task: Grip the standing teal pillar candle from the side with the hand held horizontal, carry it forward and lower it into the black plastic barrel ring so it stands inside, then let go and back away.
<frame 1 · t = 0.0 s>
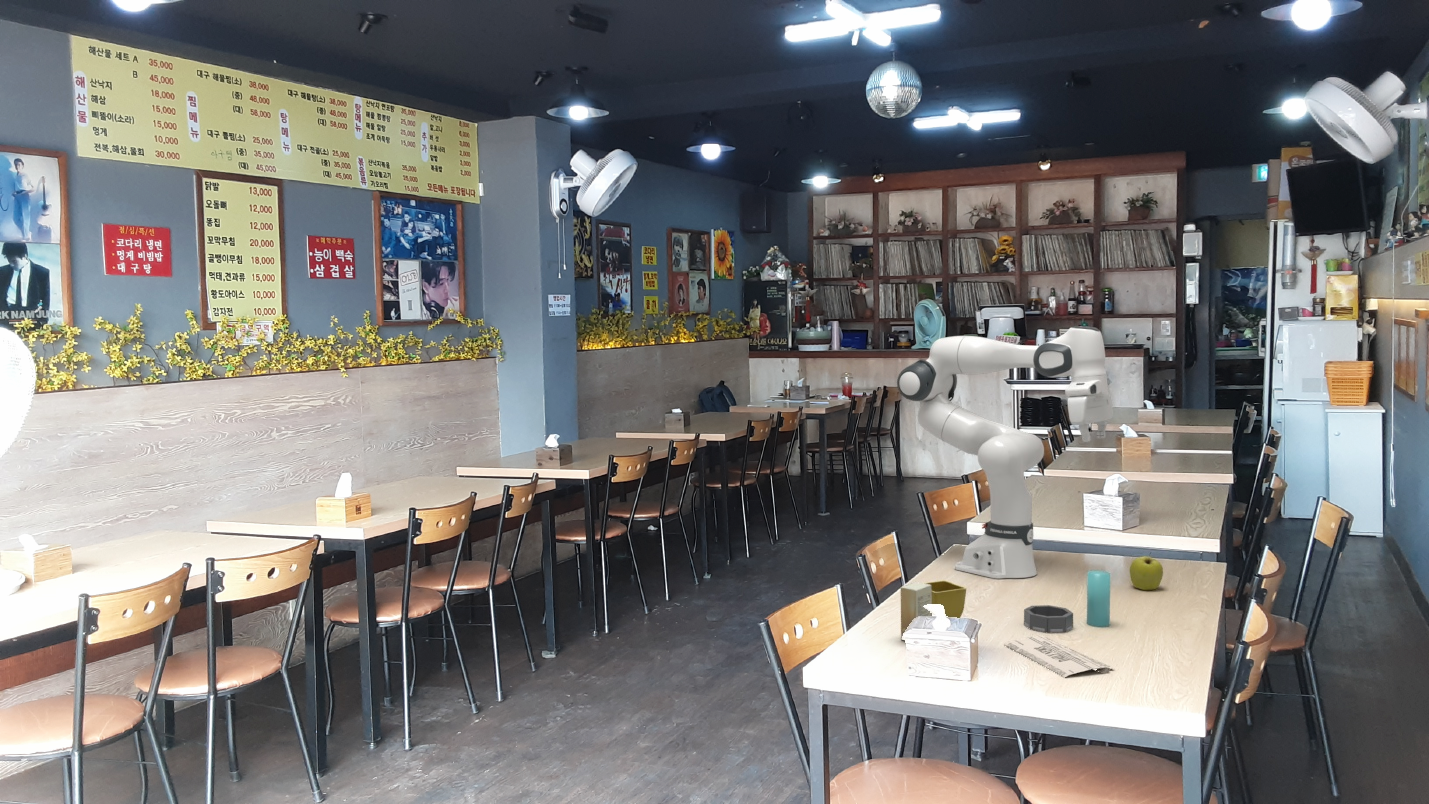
hand: (1094, 439, 272), 39 cm above the table, tool pointing down, fingers open, 8 cm apart
skincare box: (916, 640, 231), on the table
teal pillar candle: (1098, 624, 241), on the table
barrel ring: (1048, 626, 240), on the table
apple: (1145, 589, 272), on the table
newspaper: (1057, 661, 217), on the table
flower pot: (940, 624, 243), on the table
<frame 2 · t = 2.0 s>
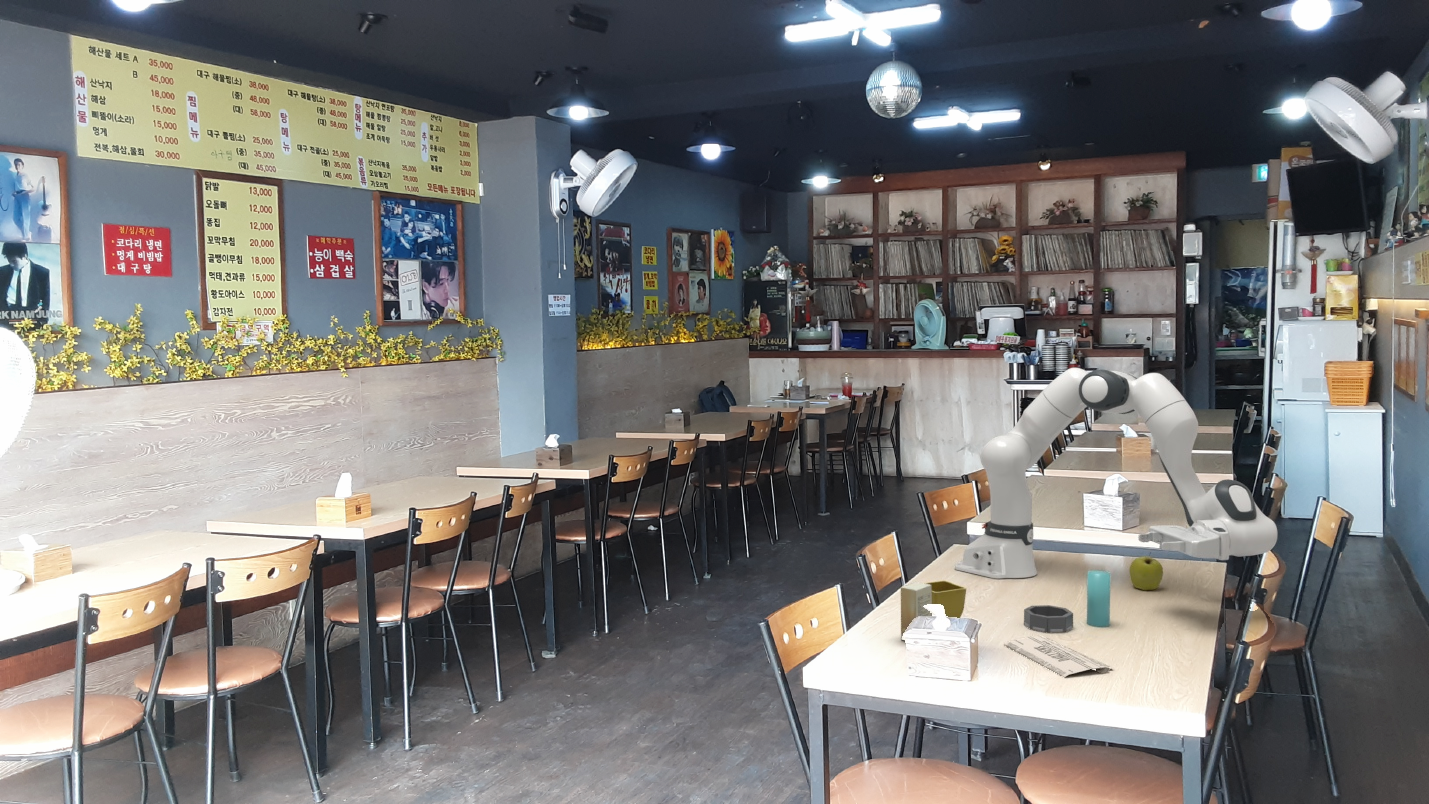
hand: (1150, 542, 241), 19 cm above the table, tool horizontal, fingers open, 8 cm apart
nothing on the table moved.
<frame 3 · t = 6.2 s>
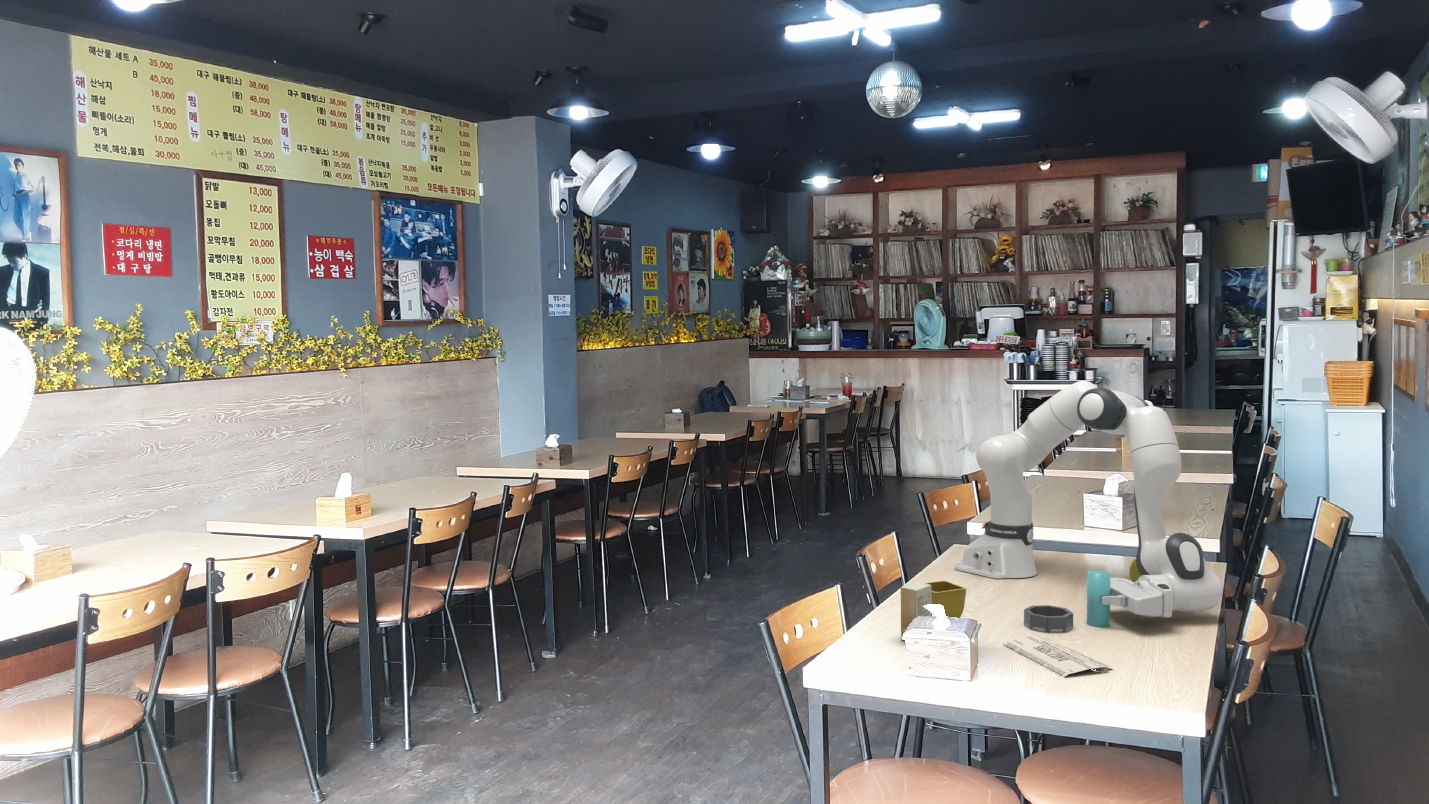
hand: (1094, 596, 240), 7 cm above the table, tool horizontal, fingers closed on teal pillar candle, 5 cm apart
teal pillar candle: (1098, 623, 241), on the table, touching gripper
everything else where it was.
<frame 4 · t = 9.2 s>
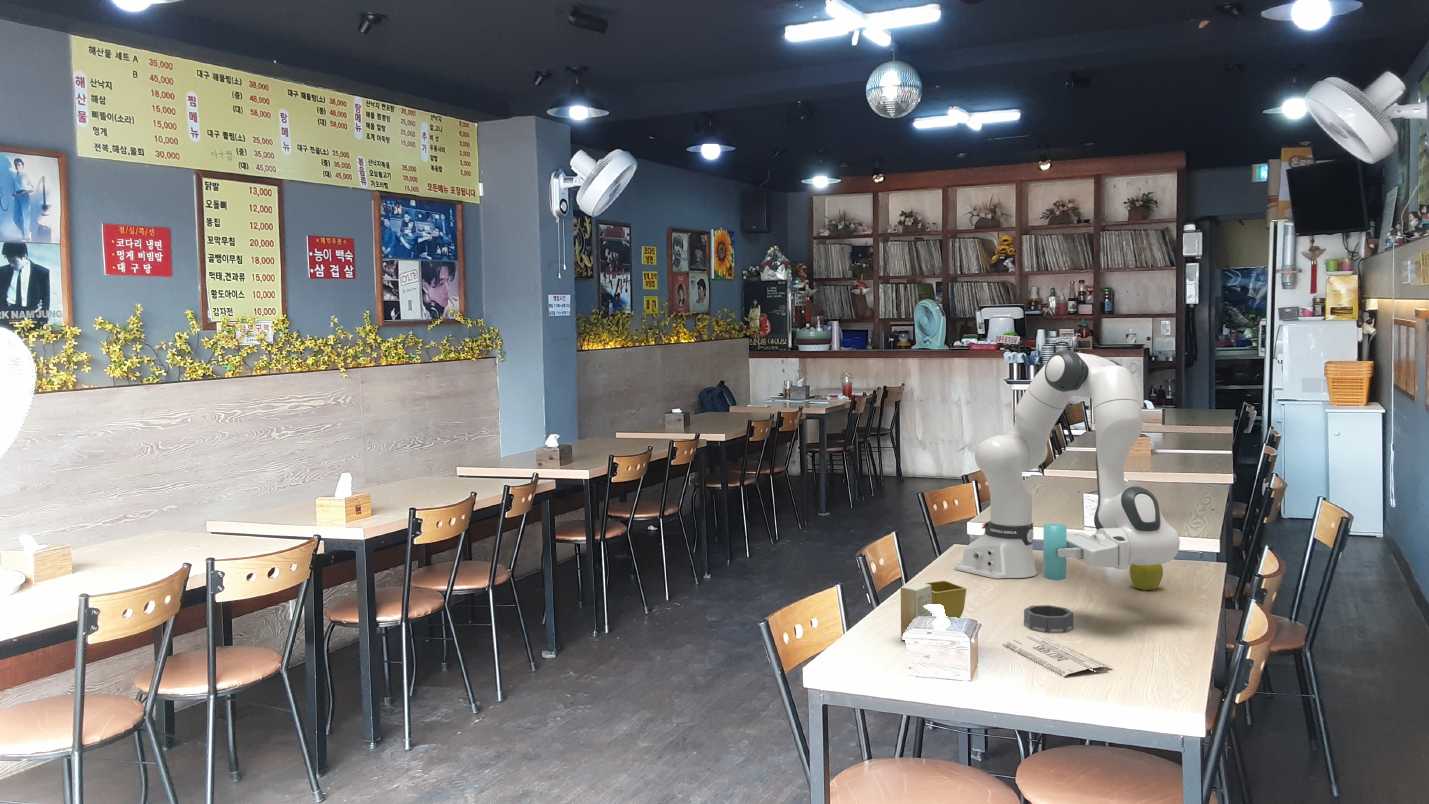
hand: (1051, 549, 238), 18 cm above the table, tool horizontal, fingers closed on teal pillar candle, 5 cm apart
teal pillar candle: (1054, 577, 239), point 11 cm above the table, touching gripper
everything else where it was.
when the fingers open (9 cm above the table, at t = 12.1 s): teal pillar candle drops 1 cm, resting on barrel ring.
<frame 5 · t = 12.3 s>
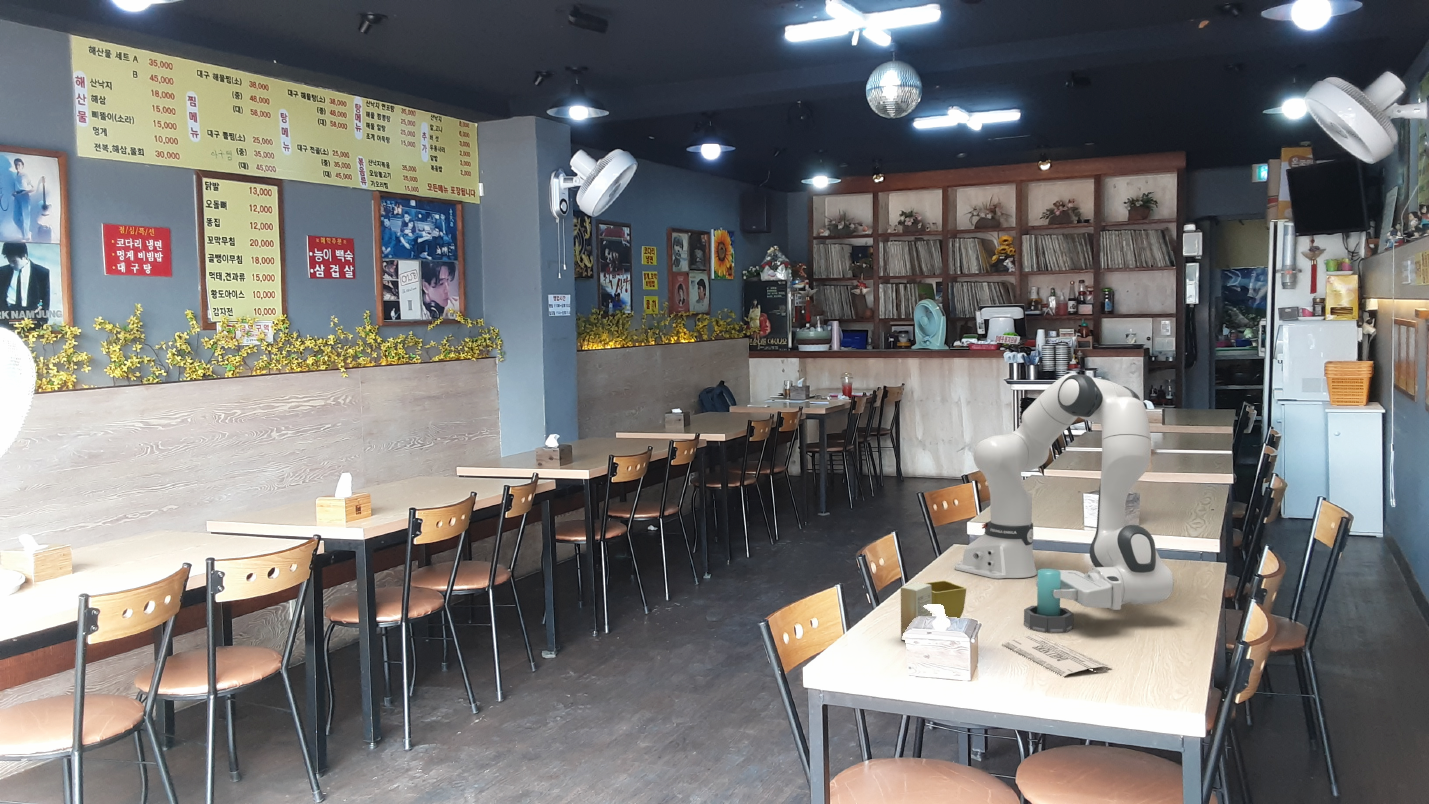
hand: (1045, 588, 239), 9 cm above the table, tool horizontal, fingers open, 7 cm apart
teal pillar candle: (1048, 622, 239), point 1 cm above the table, touching barrel ring
everything else where it was.
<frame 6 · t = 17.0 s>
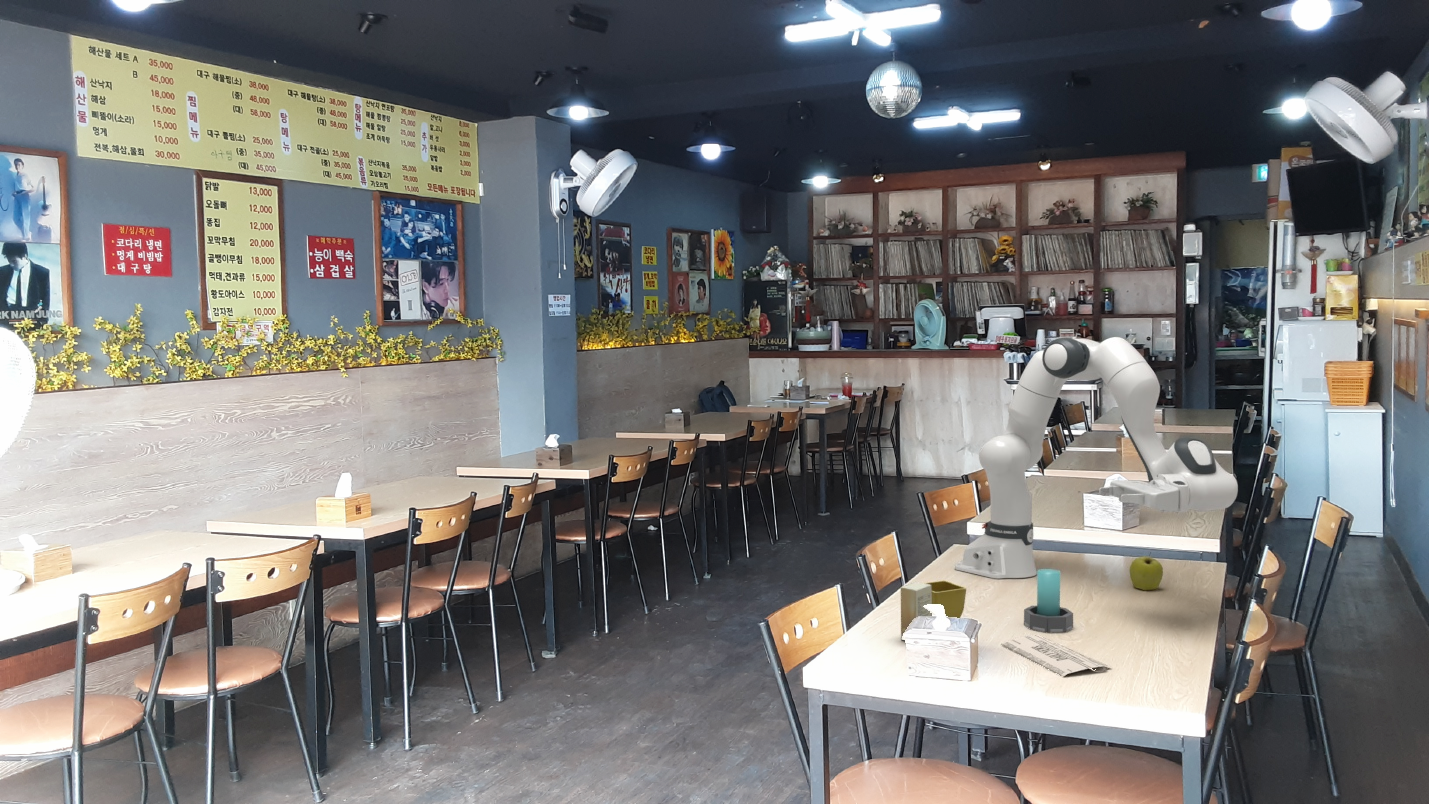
hand: (1110, 495, 239), 30 cm above the table, tool horizontal, fingers open, 8 cm apart
nothing on the table moved.
at the end: teal pillar candle 0.0 cm off-centre on the barrel ring, point 0.8 cm above the barrel ring's base; teal pillar candle tilted 0°; the gripper is holding nothing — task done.
